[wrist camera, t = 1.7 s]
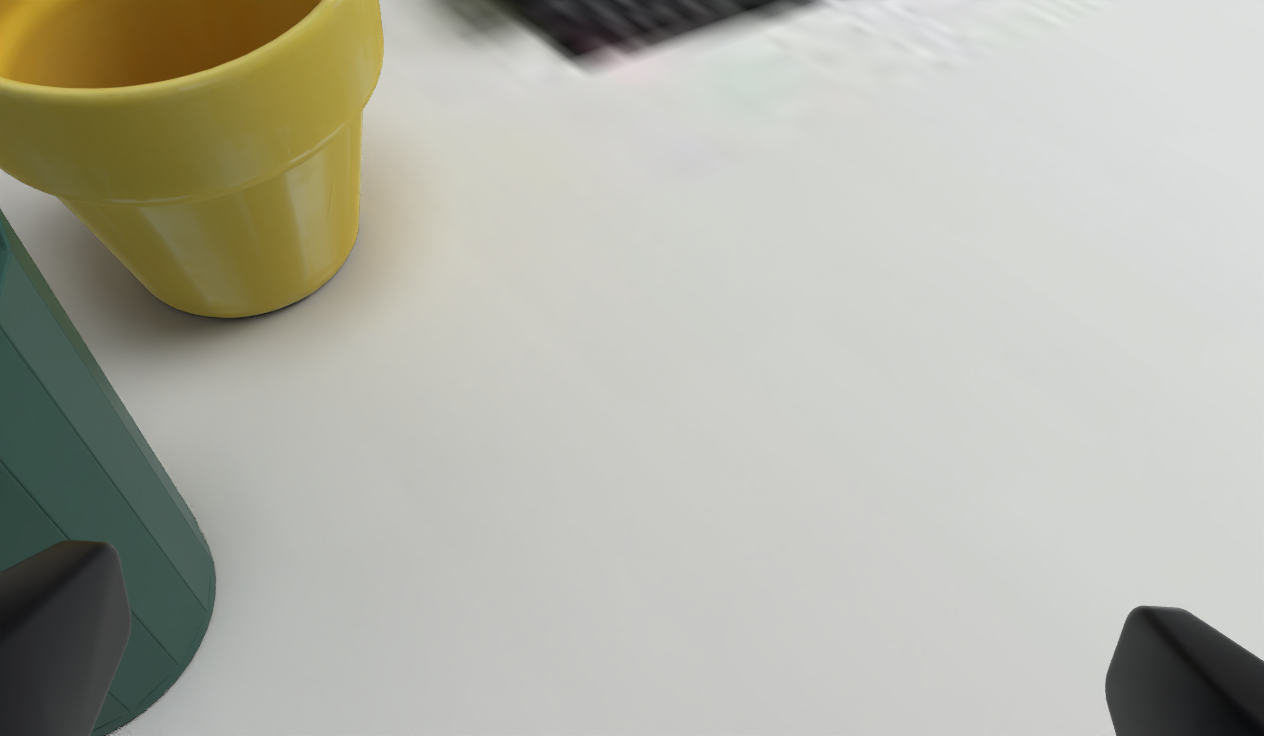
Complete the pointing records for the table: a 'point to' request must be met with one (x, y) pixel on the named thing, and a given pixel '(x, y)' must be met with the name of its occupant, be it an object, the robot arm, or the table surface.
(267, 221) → the flower pot
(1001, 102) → the table surface
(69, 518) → the bottle
